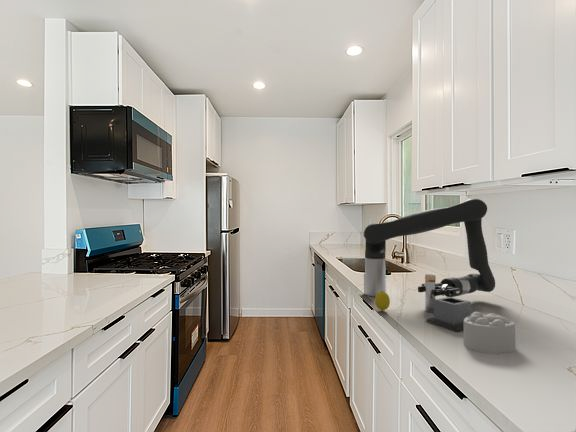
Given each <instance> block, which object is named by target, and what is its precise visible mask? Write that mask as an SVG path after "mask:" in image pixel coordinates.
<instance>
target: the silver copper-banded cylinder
mask: <svg viewBox="0 0 576 432" xmlns="http://www.w3.org/2000/svg"><path fill="white" fill-rule="evenodd" d="M436 280H437V279H436V275H435V274H429V273H428V274H427V273H425V276H424V283H425V292H424V293H425V295H424V297H425V300H424V301H425V304H424V305H425V312H427V313H430V314H434V300H435V299H437V298H436V297H437V296H433V290H435V284H436Z"/></svg>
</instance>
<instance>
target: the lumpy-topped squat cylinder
mask: <svg viewBox="0 0 576 432" xmlns="http://www.w3.org/2000/svg"><path fill="white" fill-rule="evenodd" d="M463 346H464V347H465V348H466V349H469V350H471V351H474V352H479V353H485V354H505V353H506V354H507V353H511V352H515V351H516V347H517V346H516V323H515V322H514V321H511V320H510V319H508V318H507V317H505V316H501V315H498V314H496V313H492V312H489V313H487V314H482V313H481V312H480V311H474V312H472V313H471V316H468V317H466V318H465V319H464V331H463Z"/></svg>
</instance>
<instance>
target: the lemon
mask: <svg viewBox="0 0 576 432" xmlns="http://www.w3.org/2000/svg"><path fill="white" fill-rule="evenodd" d="M390 302H391V301H390V297H389V294H388V293H387V292H386V293H385V292H384V291H381V292H379V293H377V295H376V297H375V298H374V304H375V307H376V308H377V309H378V310H380V311H381V312H385V310H387V309H388V308H389V307H390Z"/></svg>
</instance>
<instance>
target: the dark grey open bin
mask: <svg viewBox="0 0 576 432" xmlns="http://www.w3.org/2000/svg"><path fill="white" fill-rule="evenodd" d="M471 304H472V302H471V301H468V300H464V299H460V298H457V297H446V296H445V297H442V298H441V297H440V298H436V299H435V300H434V313H433V314H434V315H433V317H430V318H426V323H429V324H432V325H435V326H438V327H441V328H443V329H447V330H450V331H453V332H456V333H460V332H464V319H465V318H466V317H468V316H471V314H472V313H471V312H472V305H471Z"/></svg>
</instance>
